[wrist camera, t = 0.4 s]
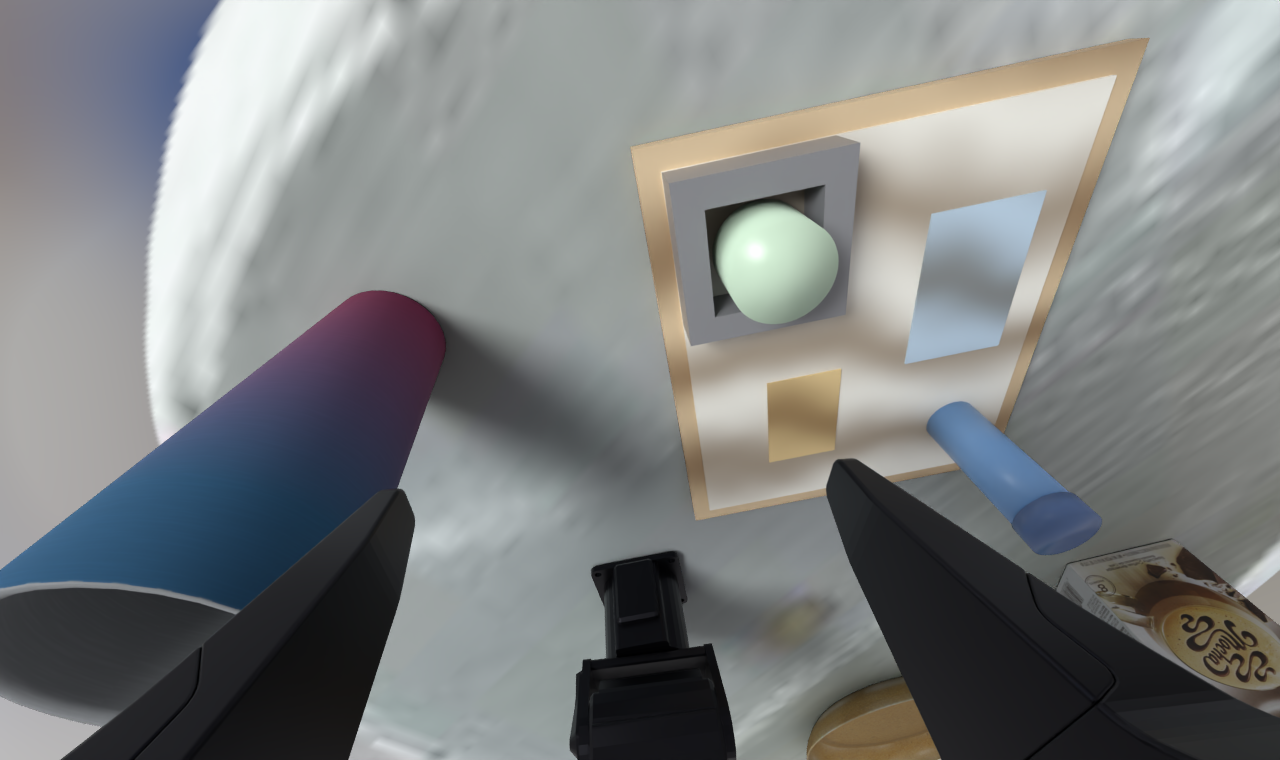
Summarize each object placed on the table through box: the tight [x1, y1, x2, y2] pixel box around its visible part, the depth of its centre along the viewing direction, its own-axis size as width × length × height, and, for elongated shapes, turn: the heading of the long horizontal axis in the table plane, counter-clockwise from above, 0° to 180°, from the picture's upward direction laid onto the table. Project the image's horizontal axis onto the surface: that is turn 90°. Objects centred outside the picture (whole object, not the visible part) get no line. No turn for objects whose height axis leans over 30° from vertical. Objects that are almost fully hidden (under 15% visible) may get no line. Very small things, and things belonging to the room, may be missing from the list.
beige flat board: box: [630, 38, 1149, 521], centre depth 25 cm, size 23×20×1 cm
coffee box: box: [1056, 539, 1280, 718], centre depth 35 cm, size 9×6×16 cm
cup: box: [0, 291, 446, 727], centre depth 16 cm, size 7×7×15 cm
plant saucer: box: [807, 676, 940, 760], centre depth 55 cm, size 24×24×3 cm
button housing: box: [662, 135, 860, 346], centre depth 19 cm, size 7×7×2 cm
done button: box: [712, 199, 839, 324], centre depth 18 cm, size 4×4×3 cm
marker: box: [926, 401, 1102, 555], centre depth 24 cm, size 3×3×8 cm
